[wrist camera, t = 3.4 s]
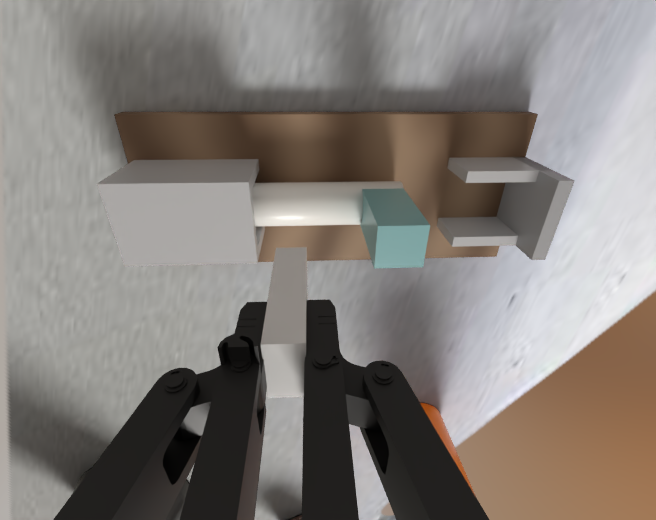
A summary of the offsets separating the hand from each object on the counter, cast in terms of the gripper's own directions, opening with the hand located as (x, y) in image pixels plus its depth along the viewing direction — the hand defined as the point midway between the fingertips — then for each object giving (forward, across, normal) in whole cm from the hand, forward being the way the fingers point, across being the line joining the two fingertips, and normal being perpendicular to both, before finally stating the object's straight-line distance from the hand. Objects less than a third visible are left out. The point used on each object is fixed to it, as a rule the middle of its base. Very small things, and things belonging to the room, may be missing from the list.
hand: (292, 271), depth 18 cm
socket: (+12, +15, 0) cm, 19 cm away
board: (+13, +3, 0) cm, 13 cm away
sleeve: (+11, -7, 0) cm, 14 cm away
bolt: (+11, -2, 0) cm, 11 cm away
